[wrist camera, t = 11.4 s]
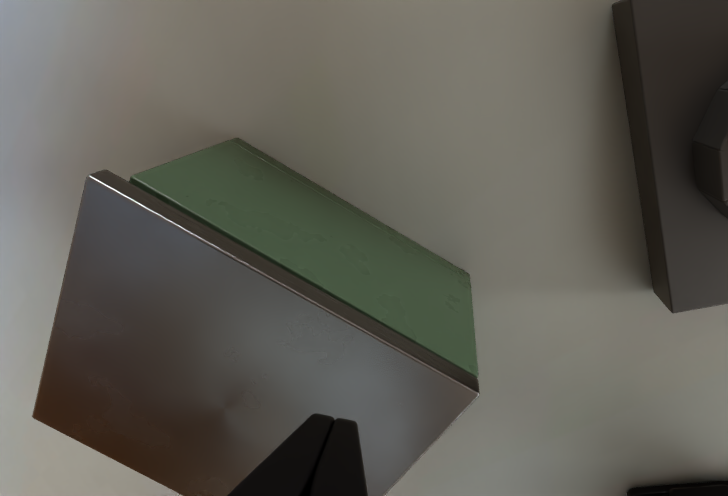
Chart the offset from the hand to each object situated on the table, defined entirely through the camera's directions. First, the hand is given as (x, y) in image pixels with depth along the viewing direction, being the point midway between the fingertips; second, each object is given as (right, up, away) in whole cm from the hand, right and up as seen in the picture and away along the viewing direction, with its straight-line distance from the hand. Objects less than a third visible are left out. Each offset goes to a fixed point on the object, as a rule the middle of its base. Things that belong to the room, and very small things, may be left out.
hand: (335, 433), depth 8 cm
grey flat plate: (-4, -2, +8) cm, 9 cm away
